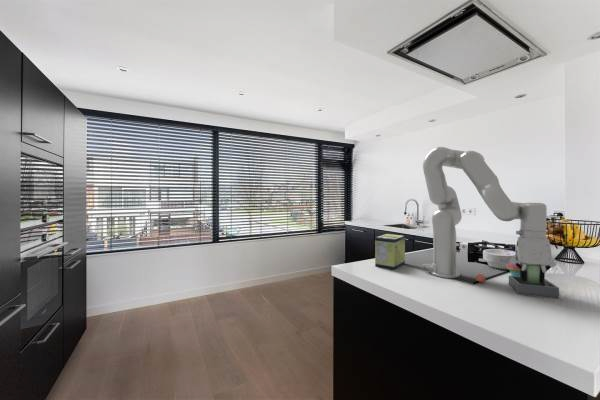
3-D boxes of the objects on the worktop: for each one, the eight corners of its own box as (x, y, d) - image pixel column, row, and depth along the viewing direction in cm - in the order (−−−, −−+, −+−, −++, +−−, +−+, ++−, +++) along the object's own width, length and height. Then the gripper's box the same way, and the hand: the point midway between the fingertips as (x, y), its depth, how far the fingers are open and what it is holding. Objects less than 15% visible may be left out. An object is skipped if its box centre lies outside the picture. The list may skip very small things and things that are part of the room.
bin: (518, 294, 101) (518, 283, 101) (508, 284, 111) (508, 275, 111) (558, 298, 97) (559, 287, 96) (545, 288, 106) (545, 278, 106)
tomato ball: (476, 283, 114) (476, 275, 113) (474, 280, 117) (474, 272, 117) (486, 284, 112) (486, 276, 112) (484, 281, 115) (484, 273, 115)
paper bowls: (475, 263, 143) (475, 249, 143) (501, 262, 145) (501, 248, 145) (500, 272, 128) (500, 255, 128) (528, 270, 130) (528, 254, 129)
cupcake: (535, 281, 115) (535, 253, 114) (512, 280, 117) (513, 253, 116) (522, 275, 123) (523, 249, 123) (502, 274, 125) (502, 248, 125)
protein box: (405, 263, 145) (405, 235, 145) (394, 270, 134) (394, 239, 133) (386, 260, 152) (386, 233, 152) (374, 266, 141) (374, 237, 140)
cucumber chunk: (527, 283, 102) (527, 265, 102) (522, 280, 106) (523, 262, 106) (541, 285, 101) (542, 267, 100) (536, 281, 105) (537, 263, 105)
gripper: (509, 234, 103) (508, 281, 103) (566, 237, 96) (565, 287, 97) (503, 232, 110) (502, 275, 110) (556, 234, 103) (555, 280, 104)
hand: (532, 280), depth 104 cm, fingers closed on cucumber chunk, 4 cm apart
